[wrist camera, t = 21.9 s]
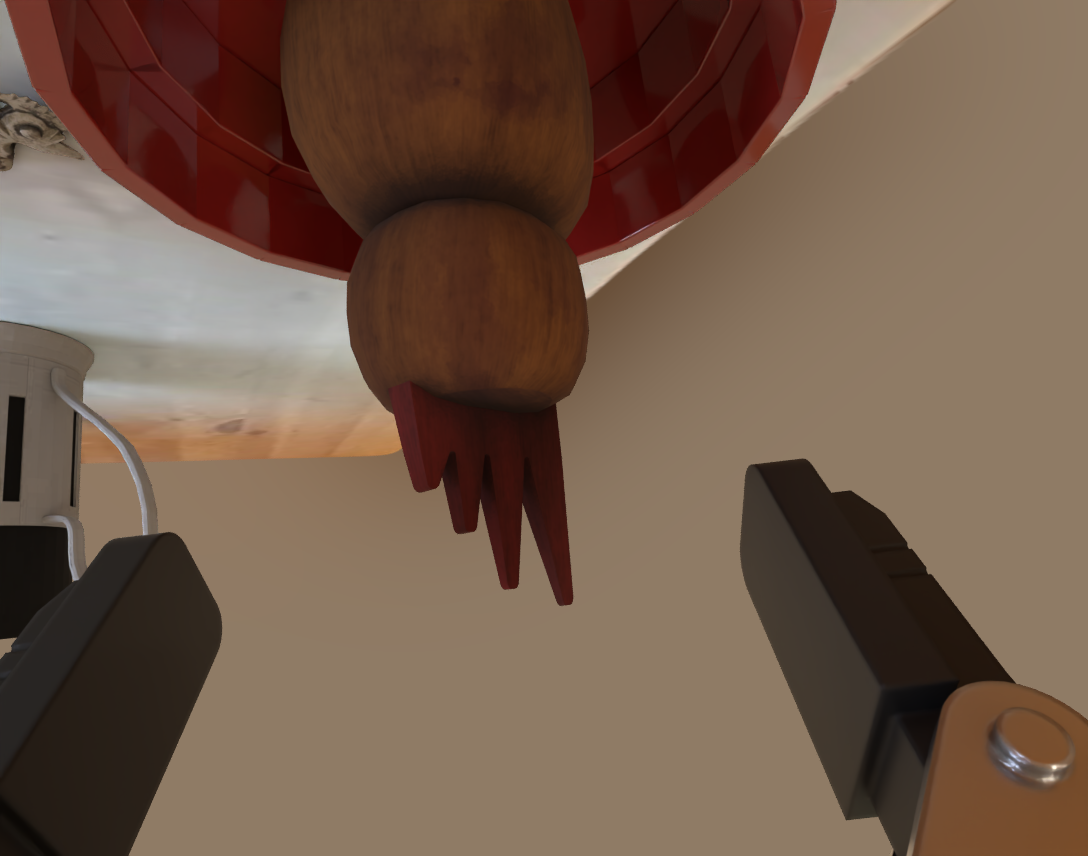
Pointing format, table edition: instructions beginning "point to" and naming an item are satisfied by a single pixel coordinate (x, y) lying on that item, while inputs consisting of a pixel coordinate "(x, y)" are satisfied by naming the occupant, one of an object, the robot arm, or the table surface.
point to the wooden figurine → (458, 236)
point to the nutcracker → (30, 129)
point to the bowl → (282, 175)
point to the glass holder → (46, 469)
